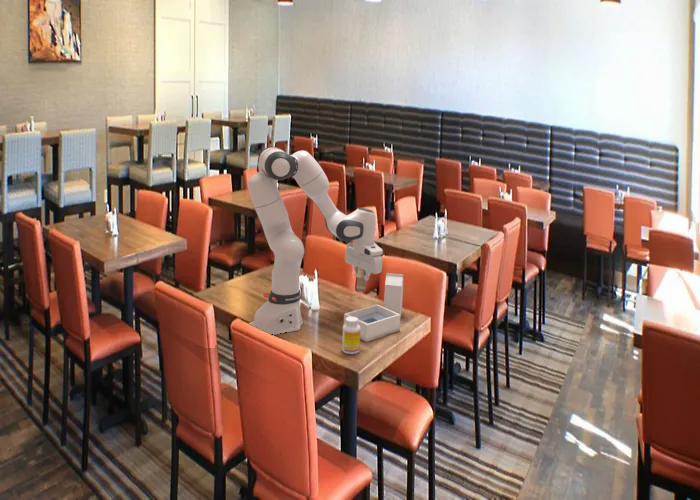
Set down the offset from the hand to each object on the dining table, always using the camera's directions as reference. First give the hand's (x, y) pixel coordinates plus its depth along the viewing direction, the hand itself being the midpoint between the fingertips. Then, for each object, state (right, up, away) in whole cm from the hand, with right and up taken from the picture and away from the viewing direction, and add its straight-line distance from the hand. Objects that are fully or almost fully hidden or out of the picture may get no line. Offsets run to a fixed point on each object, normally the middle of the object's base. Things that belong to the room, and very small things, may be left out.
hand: (361, 278), depth 247 cm
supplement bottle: (-5, -26, -29) cm, 39 cm away
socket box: (+4, -21, -10) cm, 23 cm away
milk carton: (+13, -17, +6) cm, 22 cm away
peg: (0, -5, +1) cm, 5 cm away
